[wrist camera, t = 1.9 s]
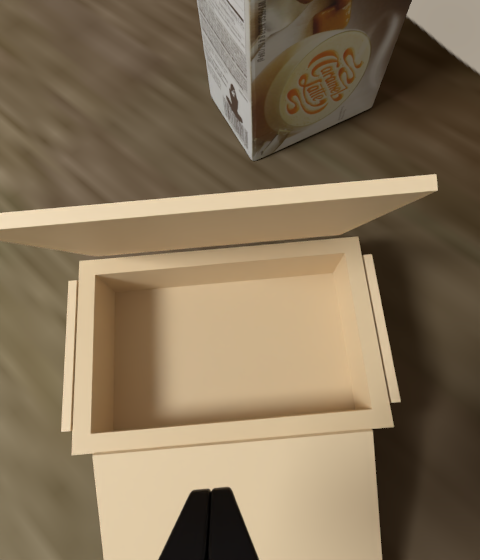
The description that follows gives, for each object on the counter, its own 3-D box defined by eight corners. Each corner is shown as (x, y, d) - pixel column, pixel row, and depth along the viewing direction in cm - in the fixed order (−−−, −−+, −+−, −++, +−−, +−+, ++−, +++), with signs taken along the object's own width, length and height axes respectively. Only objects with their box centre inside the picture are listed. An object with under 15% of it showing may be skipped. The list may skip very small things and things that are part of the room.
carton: (417, 623, 18) (456, 673, 15) (84, 651, 18) (44, 709, 15) (351, 260, 24) (369, 233, 20) (95, 283, 24) (67, 260, 20)
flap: (437, 190, 10) (435, 170, 10) (-47, 233, 10) (-49, 213, 10) (339, 234, 20) (338, 224, 20) (96, 256, 20) (95, 246, 20)
